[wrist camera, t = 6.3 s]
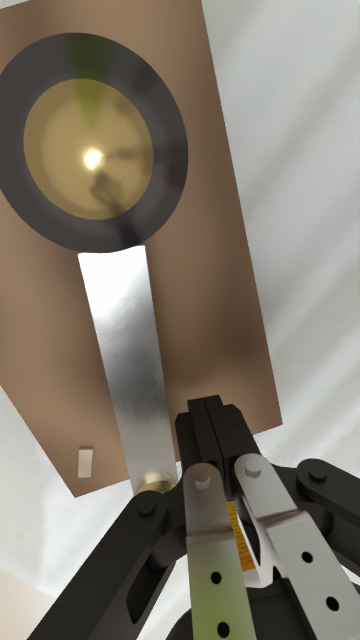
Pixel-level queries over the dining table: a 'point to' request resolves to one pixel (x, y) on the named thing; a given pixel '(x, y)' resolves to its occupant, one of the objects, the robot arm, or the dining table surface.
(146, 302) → the bar
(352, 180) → the dining table surface
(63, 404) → the walnut stand
